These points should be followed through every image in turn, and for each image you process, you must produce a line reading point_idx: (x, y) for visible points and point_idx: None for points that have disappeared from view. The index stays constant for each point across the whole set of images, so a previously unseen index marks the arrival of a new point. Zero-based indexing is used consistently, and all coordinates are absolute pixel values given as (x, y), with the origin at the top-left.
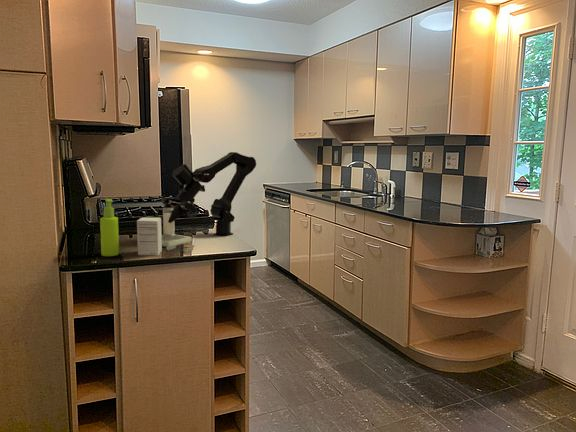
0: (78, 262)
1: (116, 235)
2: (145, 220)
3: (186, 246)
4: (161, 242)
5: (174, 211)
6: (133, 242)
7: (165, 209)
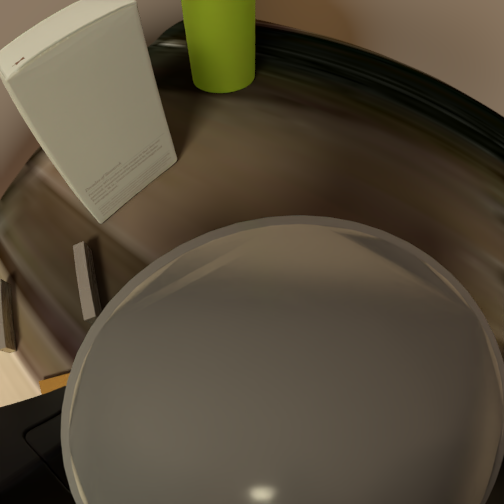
0: None
1: (184, 19)
2: (49, 17)
3: (60, 376)
4: (77, 194)
5: (12, 404)
6: (403, 226)
7: (206, 244)
